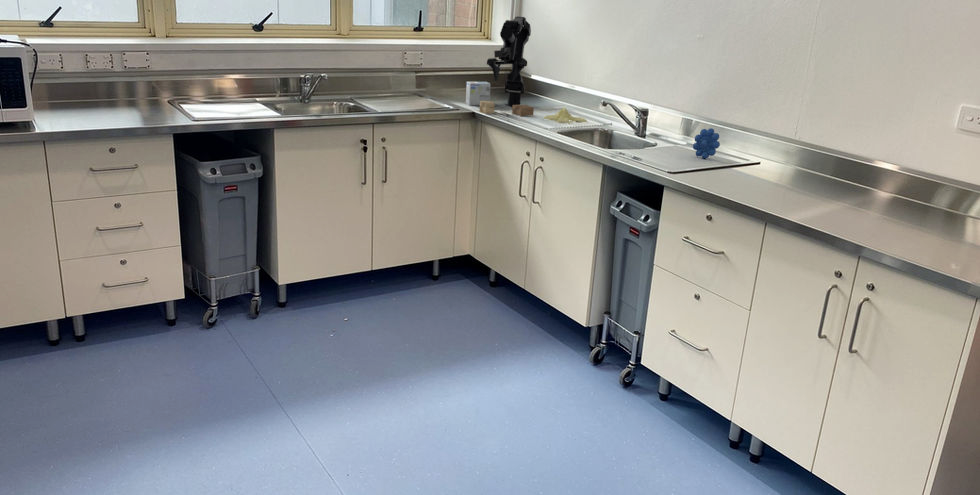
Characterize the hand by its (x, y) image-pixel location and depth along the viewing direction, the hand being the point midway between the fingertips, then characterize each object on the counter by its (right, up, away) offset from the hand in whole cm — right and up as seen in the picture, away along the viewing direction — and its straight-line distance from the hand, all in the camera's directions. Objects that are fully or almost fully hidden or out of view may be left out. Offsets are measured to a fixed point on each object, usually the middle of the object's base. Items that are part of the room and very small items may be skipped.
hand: (504, 80), depth 374 cm
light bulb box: (-13, -6, +28) cm, 31 cm away
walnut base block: (+9, -14, +7) cm, 18 cm away
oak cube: (-8, -14, +7) cm, 17 cm away
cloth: (+27, -18, +2) cm, 32 cm away
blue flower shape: (+76, -42, -60) cm, 106 cm away
